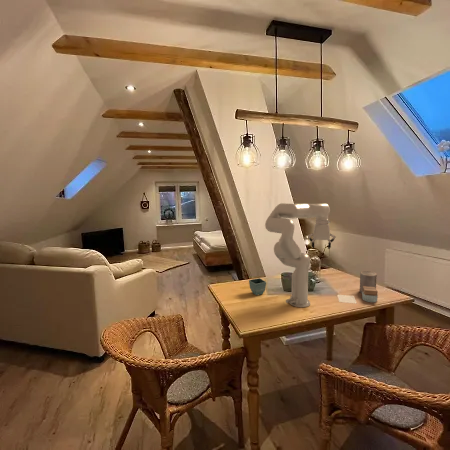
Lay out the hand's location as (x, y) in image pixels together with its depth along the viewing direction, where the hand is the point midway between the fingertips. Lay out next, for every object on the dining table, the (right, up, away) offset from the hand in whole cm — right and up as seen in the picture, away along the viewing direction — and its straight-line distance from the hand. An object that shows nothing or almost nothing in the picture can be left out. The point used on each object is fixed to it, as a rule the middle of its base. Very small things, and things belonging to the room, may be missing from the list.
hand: (321, 248), depth 185 cm
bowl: (+27, -31, -10) cm, 42 cm away
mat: (+13, -32, -8) cm, 35 cm away
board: (+26, -27, -11) cm, 39 cm away
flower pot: (-41, -31, +4) cm, 52 cm away
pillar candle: (+31, -30, +1) cm, 43 cm away
